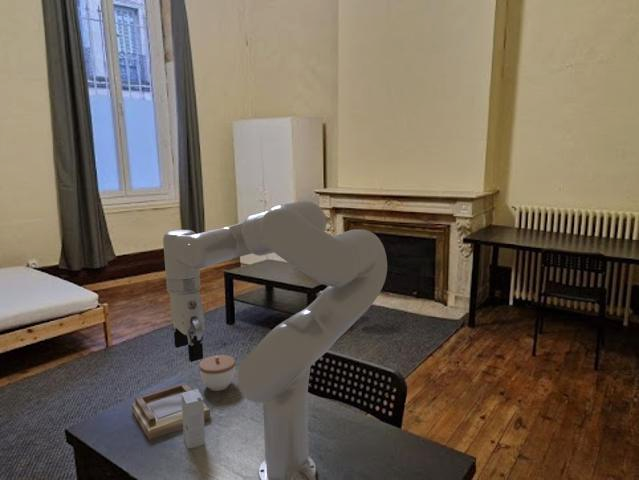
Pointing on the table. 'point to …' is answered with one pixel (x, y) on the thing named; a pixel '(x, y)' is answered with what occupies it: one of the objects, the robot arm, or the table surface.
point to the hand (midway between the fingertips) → (188, 352)
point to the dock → (162, 410)
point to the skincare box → (193, 418)
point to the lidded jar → (217, 371)
